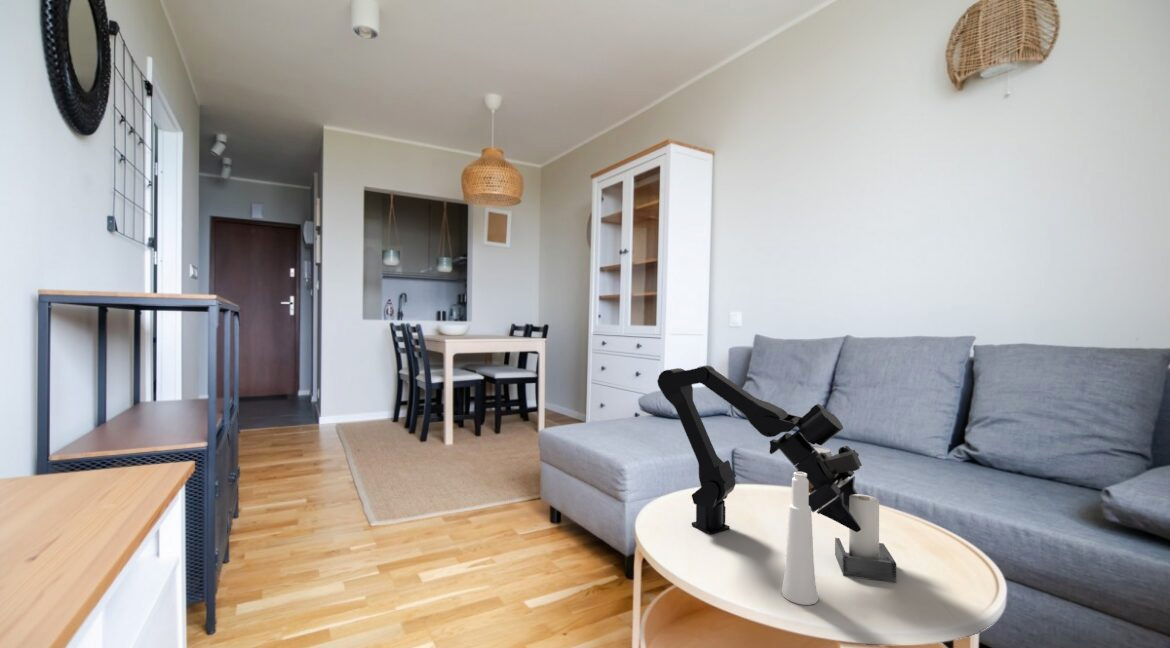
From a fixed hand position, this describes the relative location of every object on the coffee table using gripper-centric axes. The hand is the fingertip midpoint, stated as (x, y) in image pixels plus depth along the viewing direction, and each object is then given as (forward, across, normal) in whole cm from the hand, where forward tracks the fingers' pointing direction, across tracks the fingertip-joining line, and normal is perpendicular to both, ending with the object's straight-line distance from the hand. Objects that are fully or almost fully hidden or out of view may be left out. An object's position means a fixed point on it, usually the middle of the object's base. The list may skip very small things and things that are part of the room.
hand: (863, 523), depth 101 cm
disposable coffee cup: (-7, +43, +20) cm, 48 cm away
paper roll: (+6, 0, +6) cm, 8 cm away
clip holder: (+6, 0, +6) cm, 9 cm away
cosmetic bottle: (+1, -18, +12) cm, 22 cm away
